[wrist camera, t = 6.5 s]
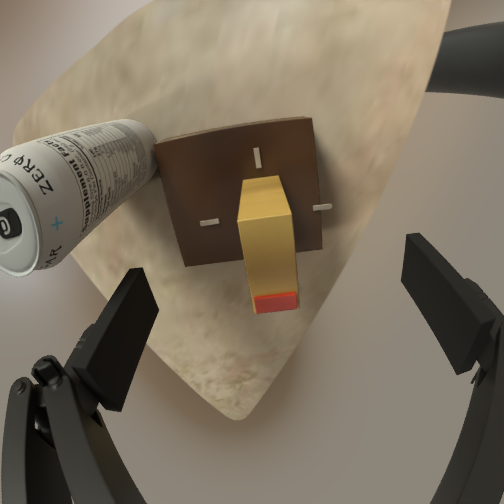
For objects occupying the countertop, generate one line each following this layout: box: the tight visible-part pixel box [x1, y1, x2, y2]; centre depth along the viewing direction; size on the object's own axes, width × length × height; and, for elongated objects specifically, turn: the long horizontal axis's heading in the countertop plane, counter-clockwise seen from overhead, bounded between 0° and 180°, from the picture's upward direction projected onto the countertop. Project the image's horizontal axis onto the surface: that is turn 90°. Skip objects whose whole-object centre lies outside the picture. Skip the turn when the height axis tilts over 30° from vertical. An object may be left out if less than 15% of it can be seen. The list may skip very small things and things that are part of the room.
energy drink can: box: [0, 119, 158, 277], centre depth 15 cm, size 6×6×15 cm
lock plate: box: [153, 116, 332, 267], centre depth 22 cm, size 12×11×3 cm
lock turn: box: [237, 176, 300, 314], centre depth 18 cm, size 6×2×8 cm, turn 8°
